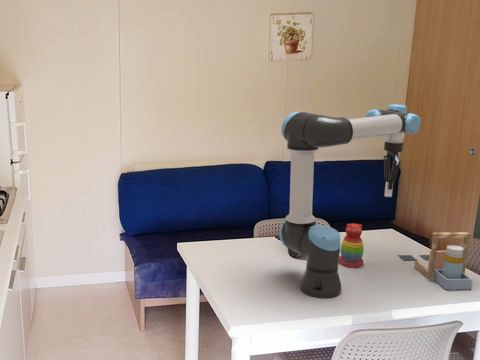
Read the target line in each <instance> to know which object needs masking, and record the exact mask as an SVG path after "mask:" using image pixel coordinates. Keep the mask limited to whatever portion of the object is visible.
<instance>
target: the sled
mask: <svg viewBox="0 0 480 360" xmlns="http://www.w3.org/2000/svg"><path fill="white" fill-rule="evenodd" d="M429 255H430V257H431V250H430V251H429ZM445 255H446V250H436V258H435V266H434V275H433V281H435V282H436V283H437V284H438V285H440V286H441V287H442V288H443V289H445V290H447V291H449V290H471V289H472V284H473V283H472V282H473V279H472V278H471V277H470V276H468V275H467V274H466V273H465V274H464V273H463V272H462V275H461V279H447V278H446V277H444V276H443V275H442V270H443V262H444V257H445ZM430 257H429V260H428V267H427V269H428V270H429V265H430Z"/></svg>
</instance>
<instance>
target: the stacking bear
mask: <svg viewBox="0 0 480 360" xmlns="http://www.w3.org/2000/svg"><path fill="white" fill-rule="evenodd" d="M362 229H363V224H360V223H354V222H353V223H347V224H346V227H345V236H344V237H343V239H342V243H341V245H340V255H339V265H341V266H343V267H346V268H350V269H351V268H352V269H356V268H357V269H358V268H360V267H362V266H363V265H364V259H363V254H364V249H365V248H364V241H363V239H362V238H361V236H362V232H363V230H362Z"/></svg>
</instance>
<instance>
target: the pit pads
mask: <svg viewBox="0 0 480 360" xmlns="http://www.w3.org/2000/svg"><path fill="white" fill-rule="evenodd" d="M398 257H399V258H400V259H401V260H402V261H403V262H407V261H409V262H411V261H414V262H415V261H418V260H417V259H416V258H415V257H414V256H413V255H411V254H405V255H404V254H402V255H401V254H399V255H398ZM419 257H420V258H422V259H423V260H424V261H429V257H430V254H419Z"/></svg>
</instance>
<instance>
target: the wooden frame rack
mask: <svg viewBox="0 0 480 360" xmlns="http://www.w3.org/2000/svg"><path fill="white" fill-rule="evenodd" d="M471 235H472V234H471V233H470V232H467V231H466V232H465V231H464V232H462V231H461V232H460V231H459V232H458V231H457V232H454V231H453V232H449V231H447V232H440V231H439V232H432V242H431V248H430V249H431V250H430V251H431V257H430V265H429V264H428V265H429V270H428V268H426V267H425V266H424V265H423V264H421V263H420V262H419V261H418V260H417V261H414V265H413V268H414V269H415V270H416V271H417V272H419V273H420V275H422V276H423V277H424V278H425V279H427V280H428V281H429V282H433V281H434V279H433V276H434V266H435V258H436V251H438V250H437V249H438V241H439V239H463V245H462V247H463V249H464V251H463V267H462V272H463V273H464V274H466V267H467V259H468V253H469V246H470V238H471Z"/></svg>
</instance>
